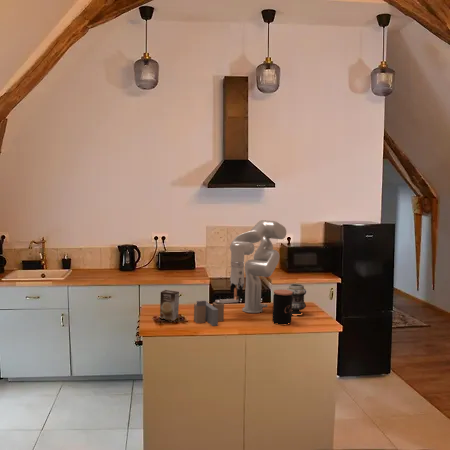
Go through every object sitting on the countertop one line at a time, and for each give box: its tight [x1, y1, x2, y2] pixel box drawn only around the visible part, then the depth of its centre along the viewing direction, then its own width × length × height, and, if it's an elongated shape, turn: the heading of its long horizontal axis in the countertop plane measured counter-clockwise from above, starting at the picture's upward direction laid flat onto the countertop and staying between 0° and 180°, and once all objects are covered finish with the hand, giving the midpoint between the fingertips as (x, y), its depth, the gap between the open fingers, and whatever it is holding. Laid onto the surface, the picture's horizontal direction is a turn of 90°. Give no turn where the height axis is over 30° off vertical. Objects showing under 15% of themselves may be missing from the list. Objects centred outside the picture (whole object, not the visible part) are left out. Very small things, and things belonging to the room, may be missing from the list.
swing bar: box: [214, 286, 240, 304], centre depth 290 cm, size 14×4×8 cm, turn 112°
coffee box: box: [159, 289, 180, 320], centre depth 287 cm, size 9×6×16 cm
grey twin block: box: [193, 300, 225, 327], centre depth 287 cm, size 16×20×12 cm
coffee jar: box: [271, 289, 293, 324], centre depth 288 cm, size 11×11×18 cm
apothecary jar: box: [286, 283, 307, 314], centre depth 307 cm, size 12×12×18 cm
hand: (236, 294), depth 292 cm, fingers open, 9 cm apart
